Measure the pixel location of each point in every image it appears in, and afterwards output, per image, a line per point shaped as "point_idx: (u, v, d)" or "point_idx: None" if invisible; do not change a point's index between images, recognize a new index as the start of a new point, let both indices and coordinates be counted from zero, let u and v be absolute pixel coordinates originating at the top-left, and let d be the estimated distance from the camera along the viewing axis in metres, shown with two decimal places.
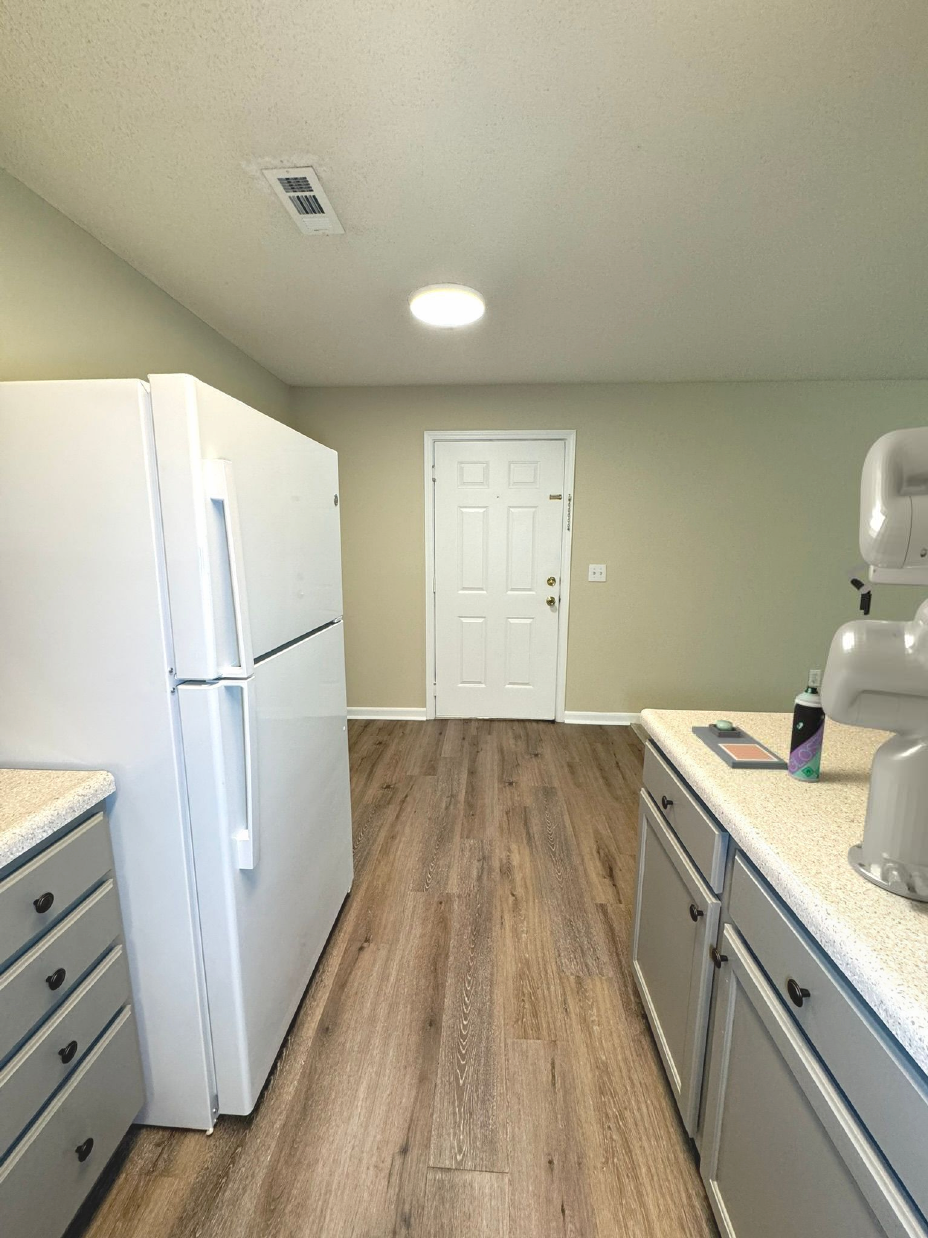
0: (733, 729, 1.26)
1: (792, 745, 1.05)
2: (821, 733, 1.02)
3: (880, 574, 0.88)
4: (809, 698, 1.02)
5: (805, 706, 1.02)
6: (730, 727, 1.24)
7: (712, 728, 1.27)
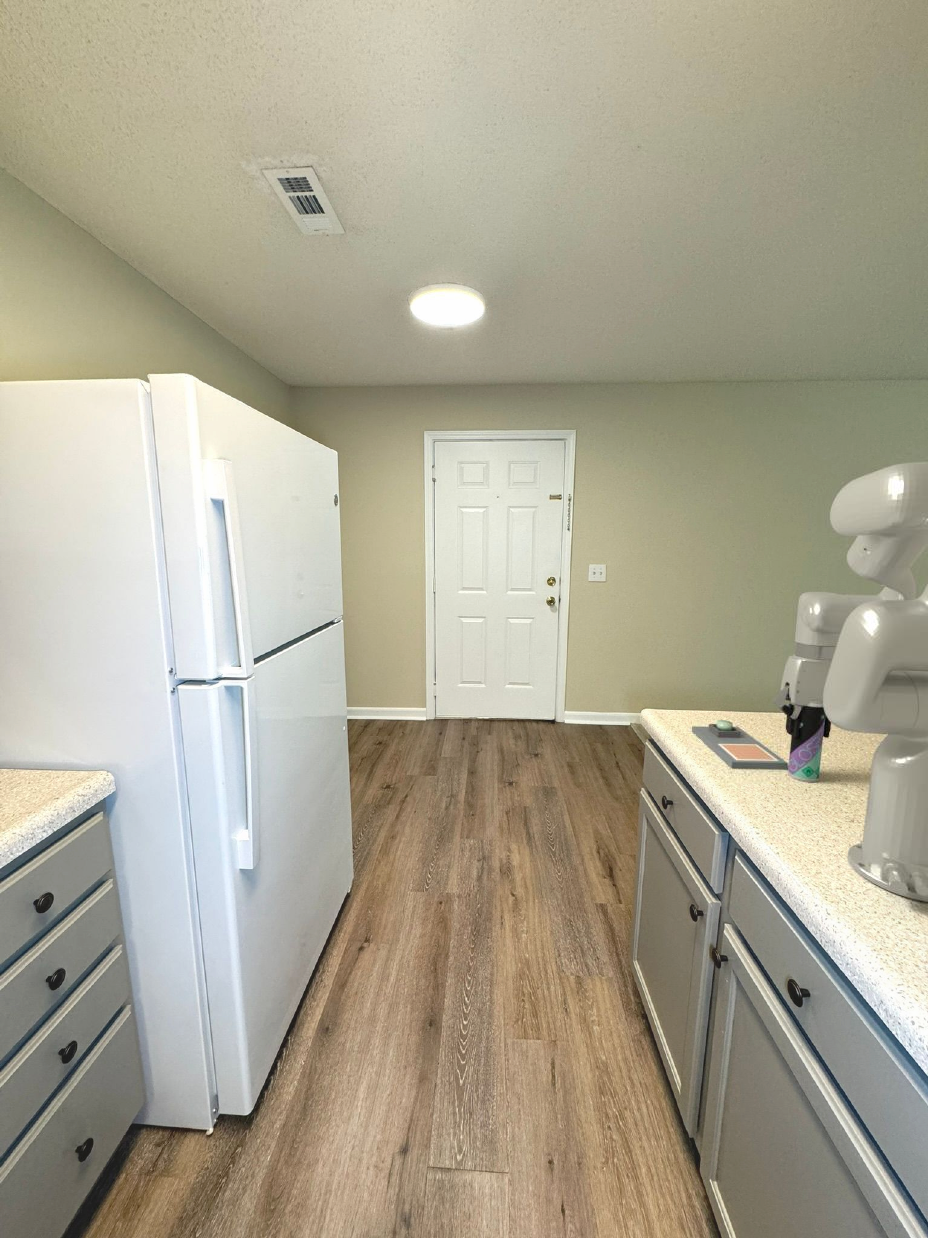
0: (733, 729, 1.26)
1: (792, 745, 1.05)
2: (821, 733, 1.02)
3: None
4: None
5: (805, 706, 1.02)
6: (730, 727, 1.24)
7: (712, 728, 1.27)
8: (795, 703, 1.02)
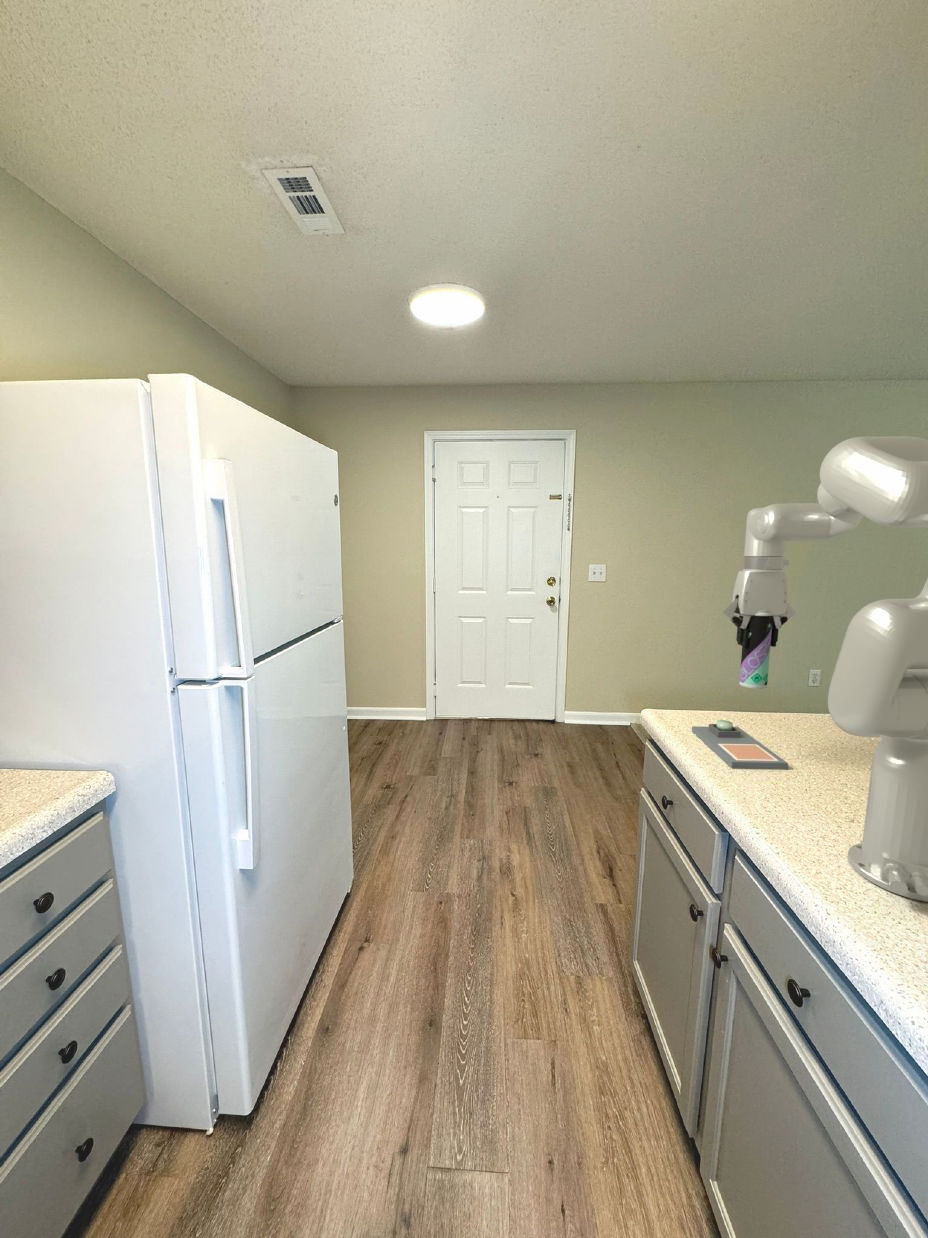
0: (733, 729, 1.26)
1: (742, 655, 1.12)
2: (768, 641, 1.08)
3: None
4: None
5: (752, 616, 1.08)
6: (730, 727, 1.24)
7: (712, 728, 1.27)
8: (743, 613, 1.08)
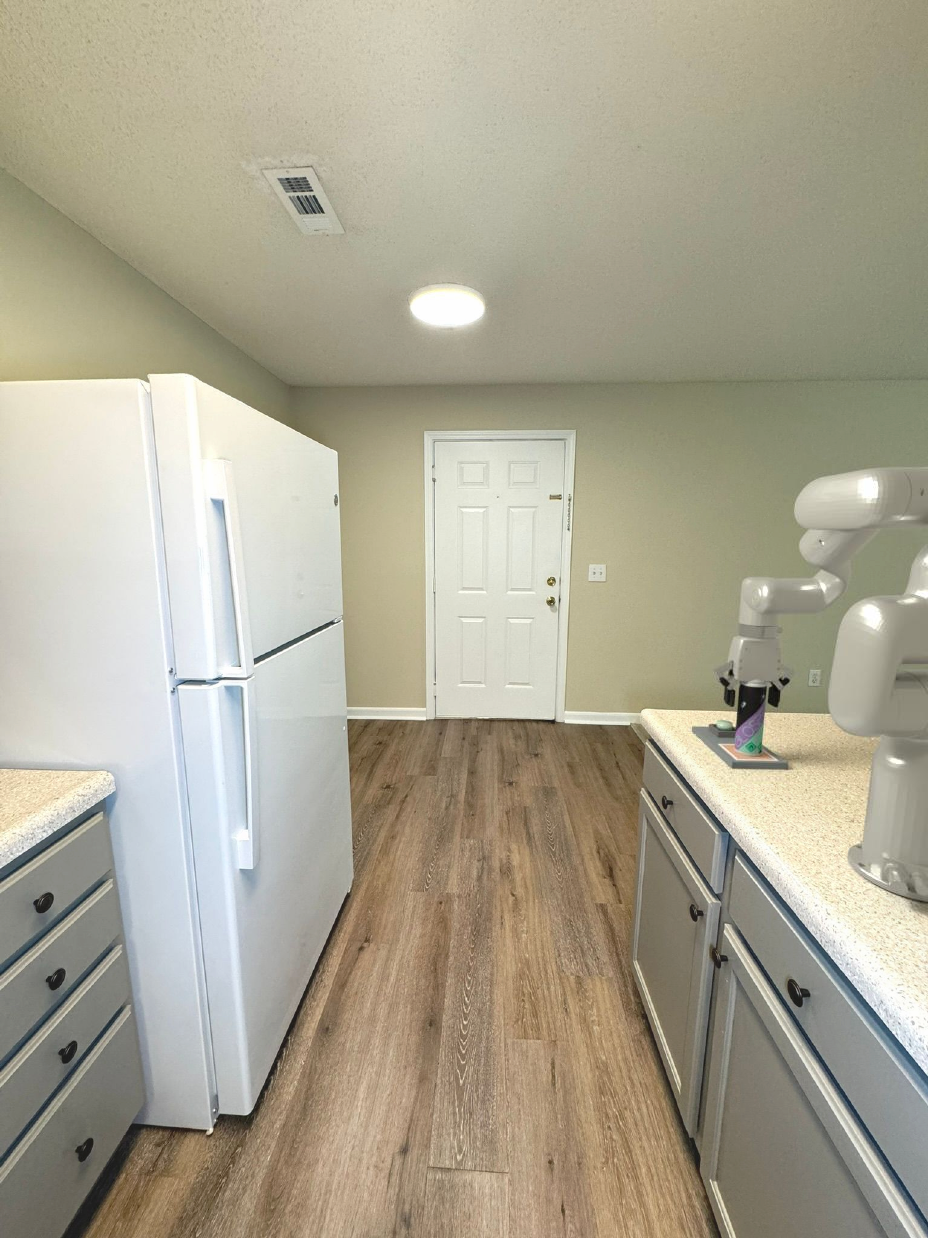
0: (733, 729, 1.26)
1: (737, 723, 1.14)
2: (762, 711, 1.11)
3: None
4: None
5: (747, 687, 1.11)
6: (730, 727, 1.24)
7: (712, 728, 1.27)
8: (738, 679, 1.10)
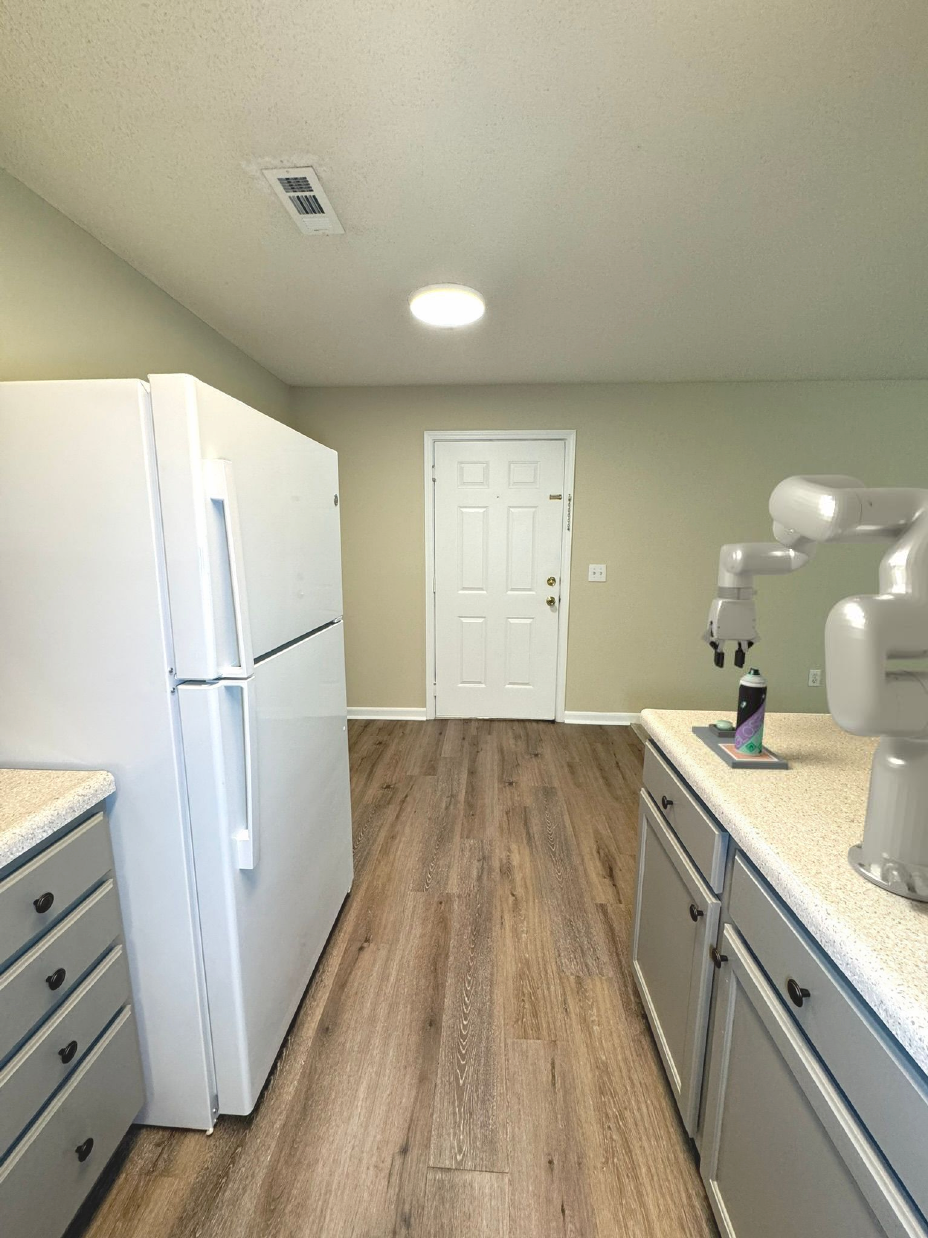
0: (733, 729, 1.26)
1: (737, 723, 1.14)
2: (762, 711, 1.11)
3: None
4: (751, 678, 1.11)
5: (747, 686, 1.11)
6: (730, 727, 1.24)
7: (712, 728, 1.27)
8: (717, 637, 1.21)
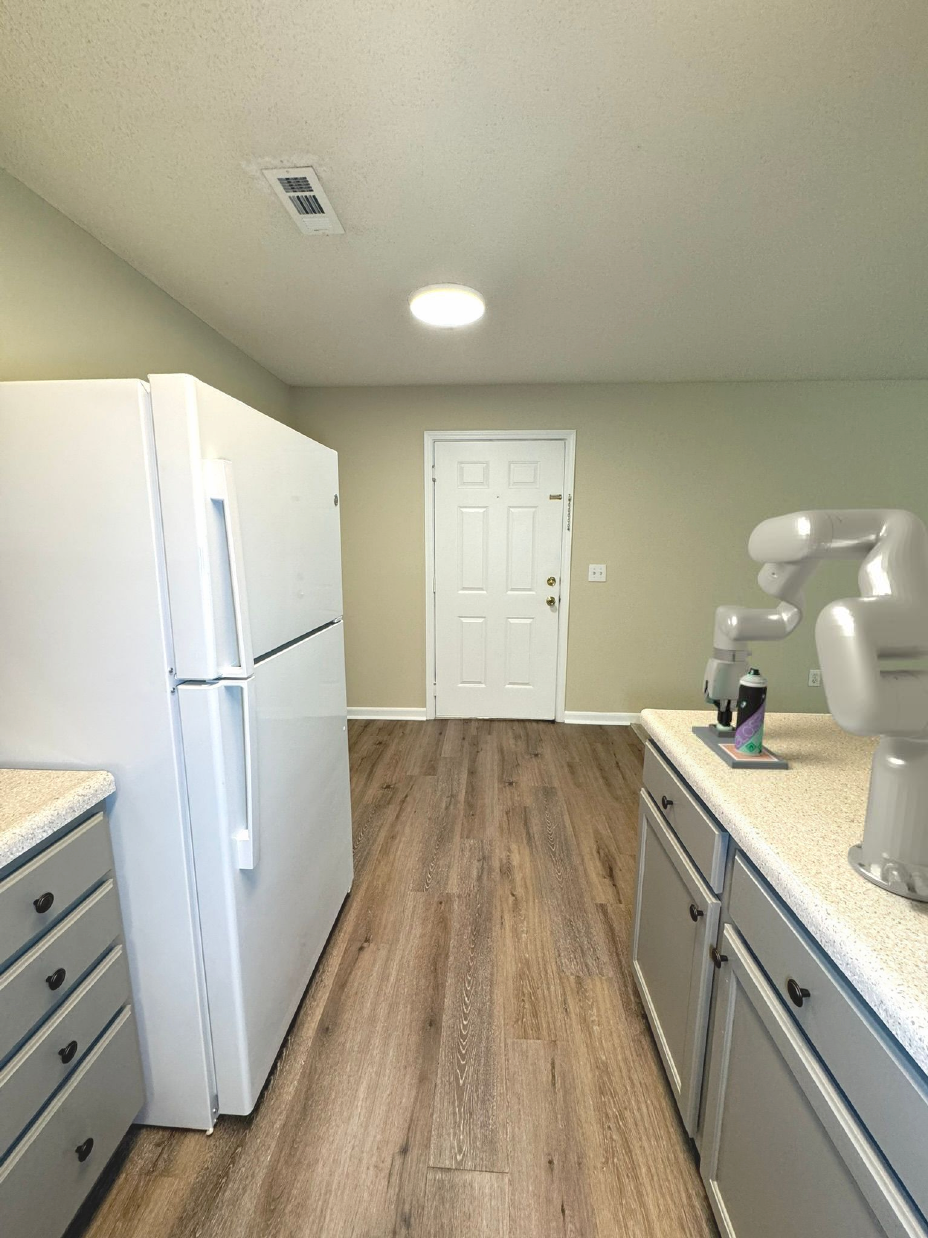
0: (733, 729, 1.26)
1: (737, 723, 1.14)
2: (762, 711, 1.11)
3: None
4: (751, 678, 1.11)
5: (747, 686, 1.11)
6: (730, 729, 1.24)
7: (712, 728, 1.27)
8: (712, 697, 1.23)
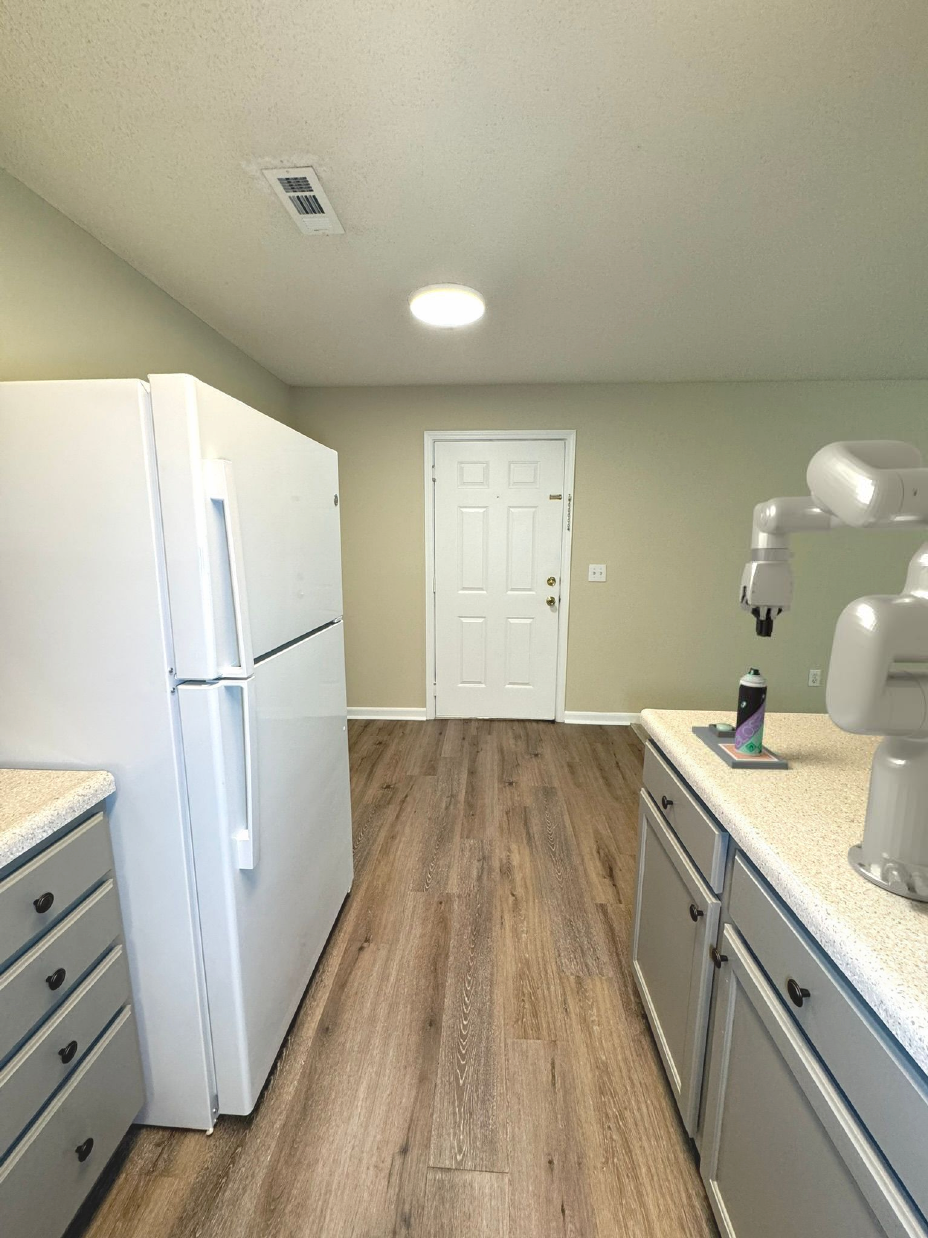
0: (733, 729, 1.26)
1: (737, 723, 1.14)
2: (762, 711, 1.11)
3: None
4: (751, 678, 1.11)
5: (747, 686, 1.11)
6: (730, 730, 1.24)
7: (712, 728, 1.27)
8: (751, 603, 1.12)
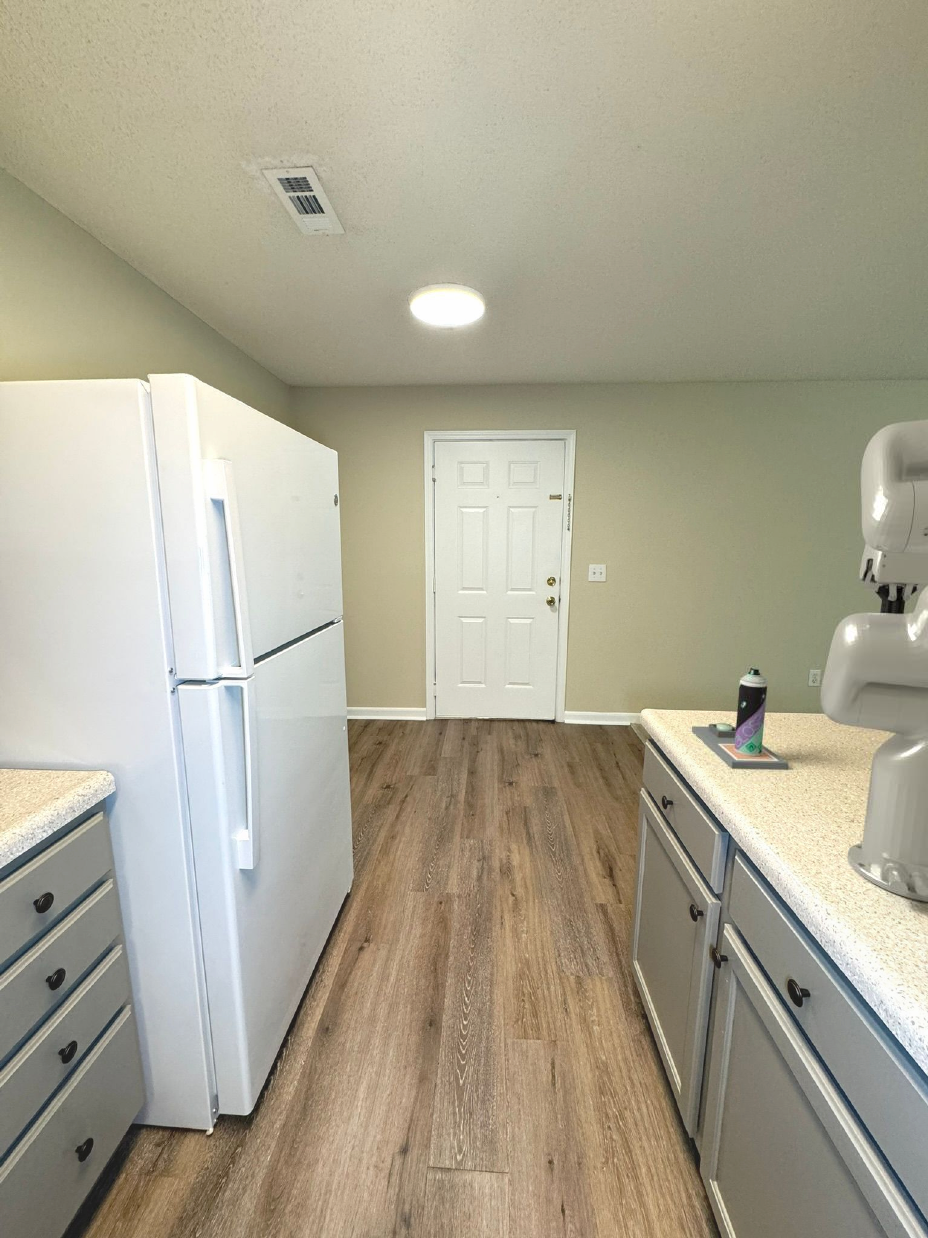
0: (733, 729, 1.26)
1: (737, 723, 1.14)
2: (762, 711, 1.11)
3: None
4: (751, 678, 1.11)
5: (747, 686, 1.11)
6: (730, 730, 1.24)
7: (712, 728, 1.27)
8: (880, 580, 0.90)
